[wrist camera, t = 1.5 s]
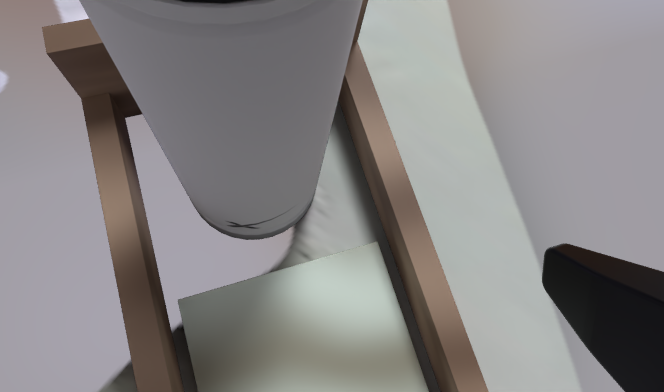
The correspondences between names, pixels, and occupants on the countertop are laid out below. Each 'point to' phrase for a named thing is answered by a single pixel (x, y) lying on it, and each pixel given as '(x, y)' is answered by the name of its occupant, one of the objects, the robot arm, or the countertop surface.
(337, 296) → the shelf lane
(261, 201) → the travel mug
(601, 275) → the robot arm
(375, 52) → the countertop surface
